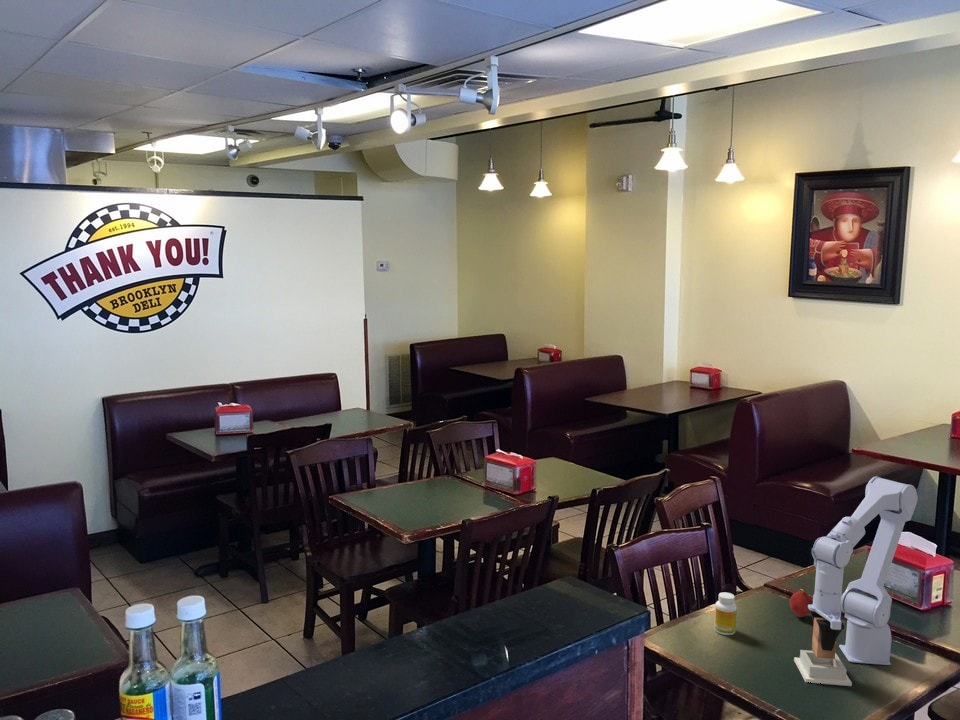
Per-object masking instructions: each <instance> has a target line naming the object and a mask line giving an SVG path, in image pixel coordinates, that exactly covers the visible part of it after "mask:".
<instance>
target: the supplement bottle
mask: <svg viewBox="0 0 960 720" xmlns="http://www.w3.org/2000/svg"><path fill="white" fill-rule="evenodd" d="M735 600H736V597H735V595H734V594H733V593H731V592H726V591H725V592H719V594H718V600H717V601H716V602H715V605H714V624H713V630H714V631H715V632H716V633H718V634H720V635H723V636H732V635H735V634H736V630H737V615H738V614H737V613H738V606H737V604H736V603H735V602H736V601H735Z"/></svg>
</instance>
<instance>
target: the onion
mask: <svg viewBox="0 0 960 720" xmlns="http://www.w3.org/2000/svg"><path fill="white" fill-rule="evenodd" d="M812 604H813V599H812V598H811V597H810V595H809V594H808V593H807V592H806V591H805V590H804V589H802V588H800V589H799V591H796V592H795V593H793V594H791V597H790V599H789V607H790V610H791V611H793V613H794V614H796V615H797V617H798V618H803V617H805V616H807V615H809V614H811V613H810V611H809V608H808V605H812Z"/></svg>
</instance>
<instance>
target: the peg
mask: <svg viewBox="0 0 960 720" xmlns="http://www.w3.org/2000/svg"><path fill="white" fill-rule="evenodd" d="M816 619H820V620H826V619H825V618H821V617H814V623H813V626H812V627H813V629H812V640H811V651H813V652H814V654H815V655H816V657H817V658H828V659H835V653H836V650H837V649H836V648H837V641H836V642H835V644H834V647H833V650H832V651H827V650H823V649H822V646H821V635H820V630H819V626H818V624H817V621H816Z"/></svg>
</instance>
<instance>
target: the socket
mask: <svg viewBox="0 0 960 720" xmlns="http://www.w3.org/2000/svg"><path fill="white" fill-rule="evenodd" d="M799 652H800V653H799V657H798V656H797V657H796V656H794V657H793V662H794V663H795V665H796V667H797V669H798V670H799V672H800V675H801V676H802V678H803V680H804V682H805V683H808V682H809V683H808V684H811V683H812V684H820V683H821V684H823V685H831V686H833V685H834V686H847V687H852V685H853V683H852V681H851V679H850V678H849V676H848V675H847V671H848V670H847V668H846V667H845V664H844V663H843V662H842V660H841V658H840V657H839V655H838V654H837V653H836V652H835V659H828V658H817V657H816V655H815V654H814V652H813V650H807V649H806V650H805V649H800V650H799ZM810 682H811V683H810Z"/></svg>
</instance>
